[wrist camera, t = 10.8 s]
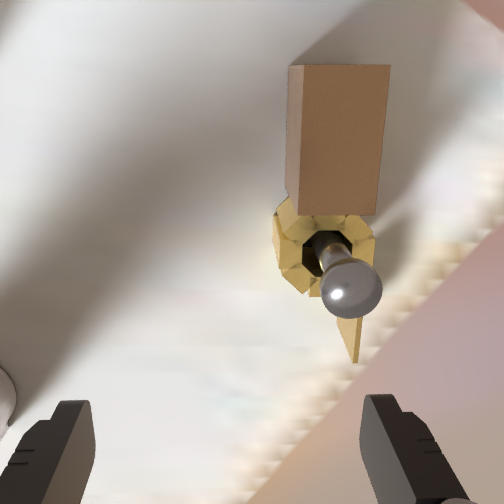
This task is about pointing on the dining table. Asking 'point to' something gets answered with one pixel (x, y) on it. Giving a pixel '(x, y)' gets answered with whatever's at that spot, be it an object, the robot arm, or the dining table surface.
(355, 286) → the hinge pin
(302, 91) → the hinge block
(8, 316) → the dining table surface
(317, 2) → the dining table surface
